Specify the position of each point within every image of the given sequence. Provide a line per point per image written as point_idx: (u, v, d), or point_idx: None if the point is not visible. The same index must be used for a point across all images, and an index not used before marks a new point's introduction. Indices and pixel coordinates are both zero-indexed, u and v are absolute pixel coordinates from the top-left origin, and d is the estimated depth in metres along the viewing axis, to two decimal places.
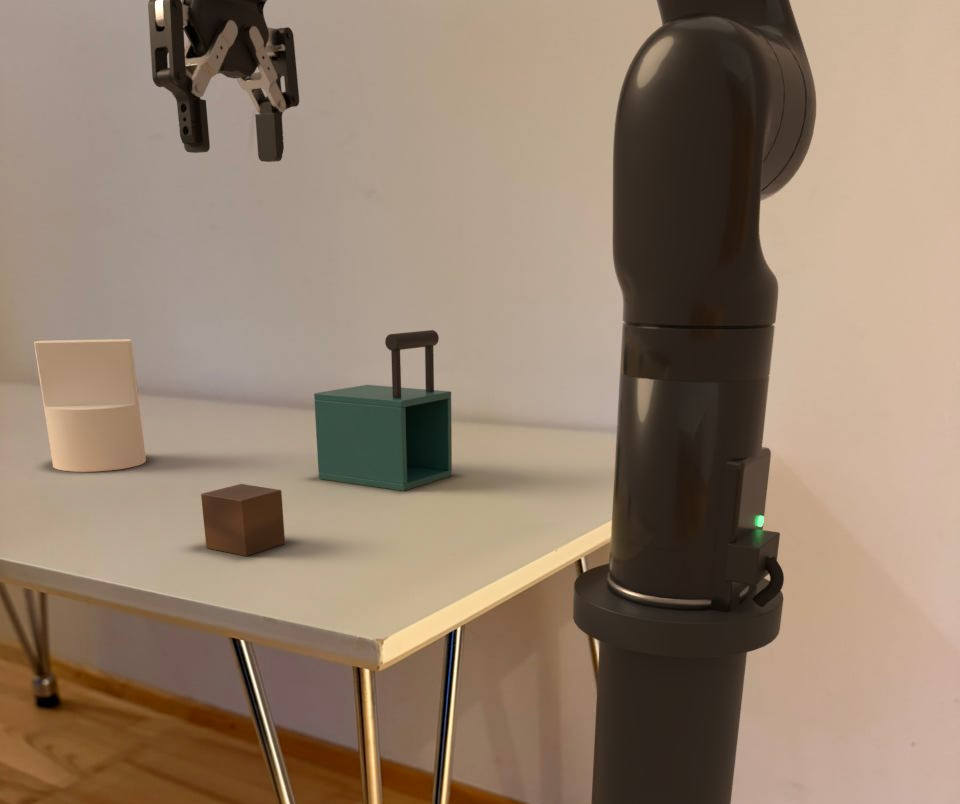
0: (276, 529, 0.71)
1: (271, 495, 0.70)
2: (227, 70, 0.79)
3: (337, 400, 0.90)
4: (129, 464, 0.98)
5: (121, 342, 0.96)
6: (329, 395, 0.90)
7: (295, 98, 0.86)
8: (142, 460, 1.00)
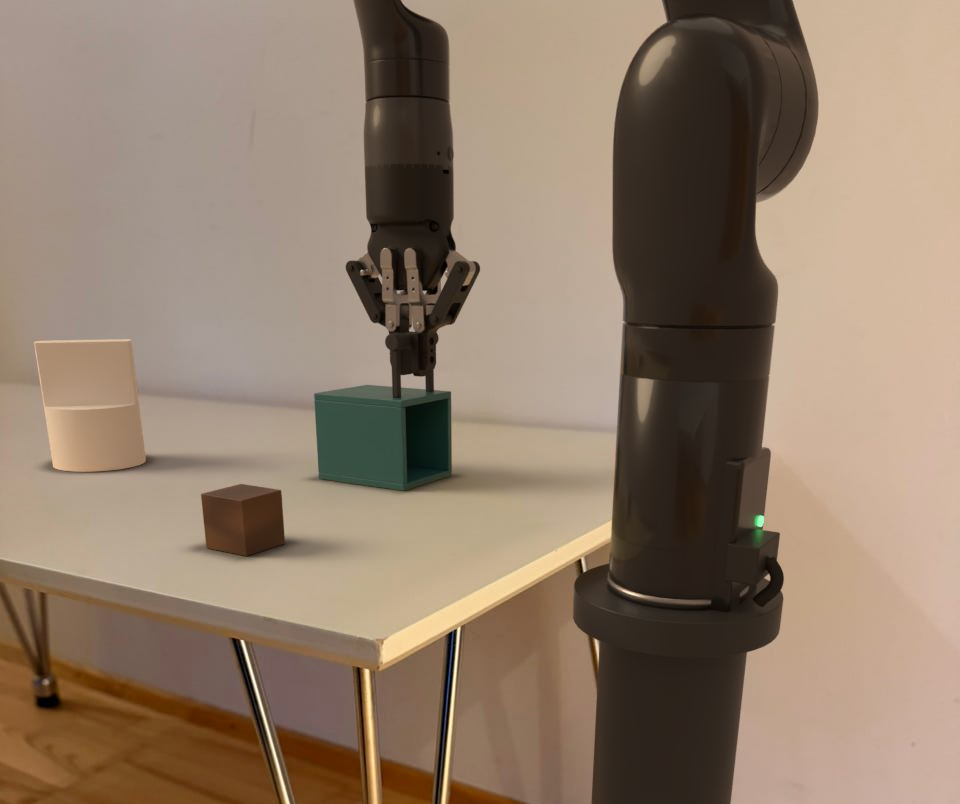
0: (276, 529, 0.71)
1: (271, 495, 0.70)
2: None
3: (337, 400, 0.90)
4: (129, 464, 0.98)
5: (121, 342, 0.96)
6: (329, 395, 0.90)
7: (433, 318, 0.85)
8: (142, 460, 1.00)
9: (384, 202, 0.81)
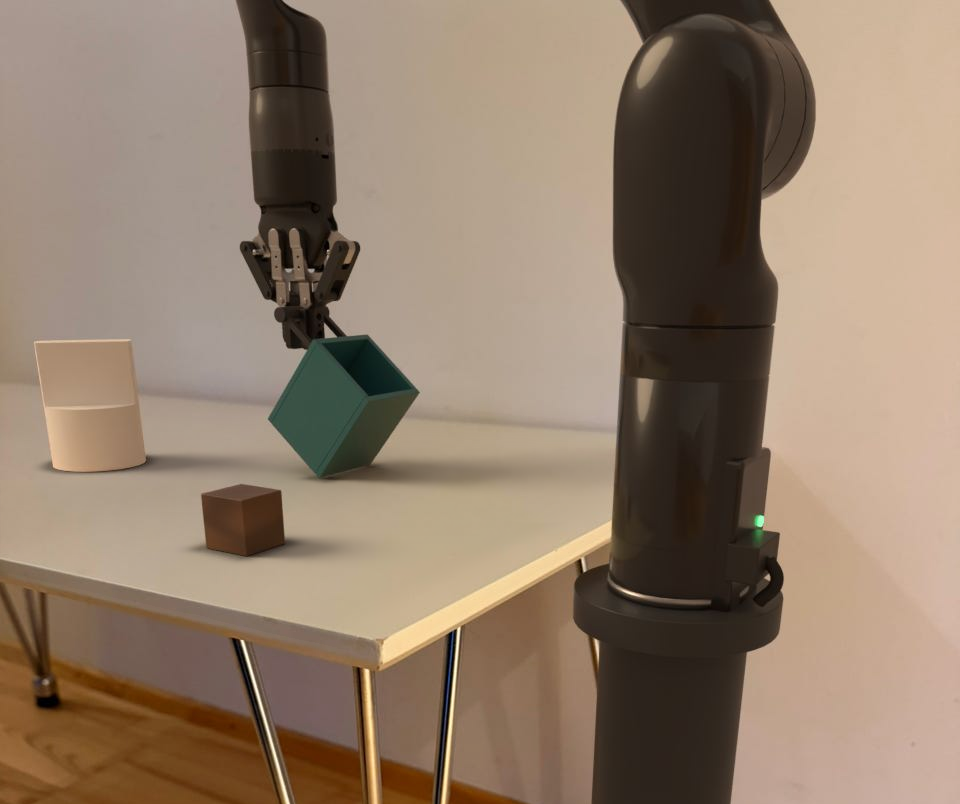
0: (276, 529, 0.71)
1: (271, 495, 0.70)
2: None
3: (282, 401, 0.93)
4: (129, 464, 0.98)
5: (121, 342, 0.96)
6: (275, 405, 0.94)
7: (318, 294, 0.91)
8: (142, 460, 1.00)
9: (267, 185, 0.87)
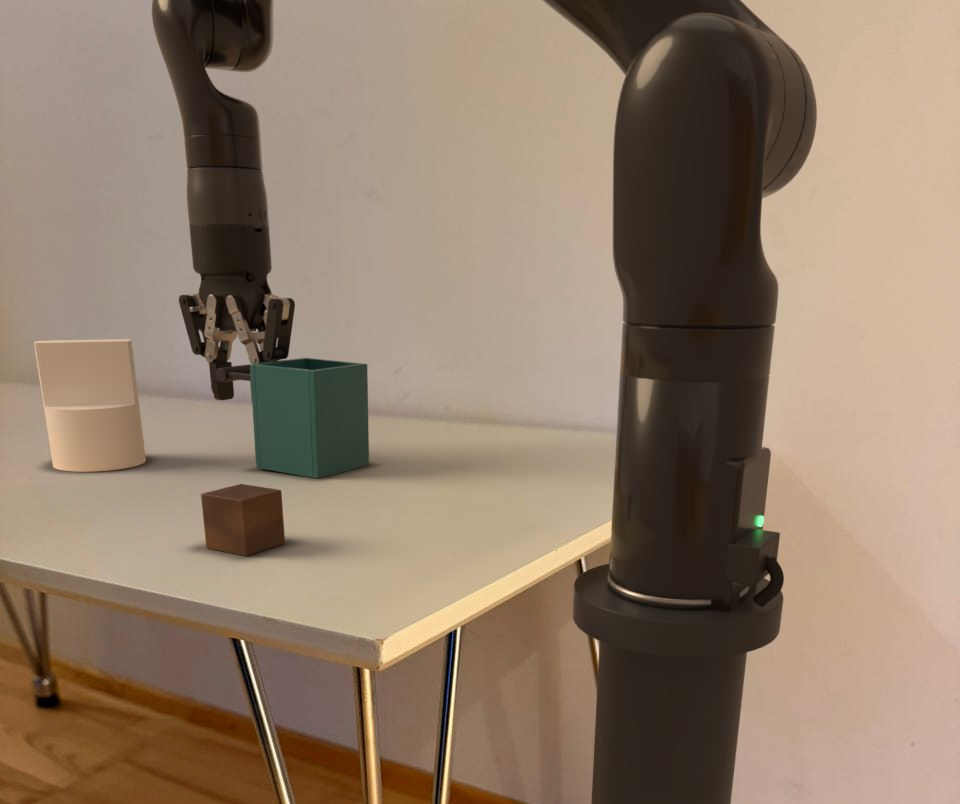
0: (276, 529, 0.71)
1: (271, 495, 0.70)
2: (222, 330, 0.98)
3: (257, 440, 0.96)
4: (129, 464, 0.98)
5: (121, 342, 0.96)
6: (255, 449, 0.97)
7: (265, 354, 0.96)
8: (142, 460, 1.00)
9: (204, 257, 0.93)
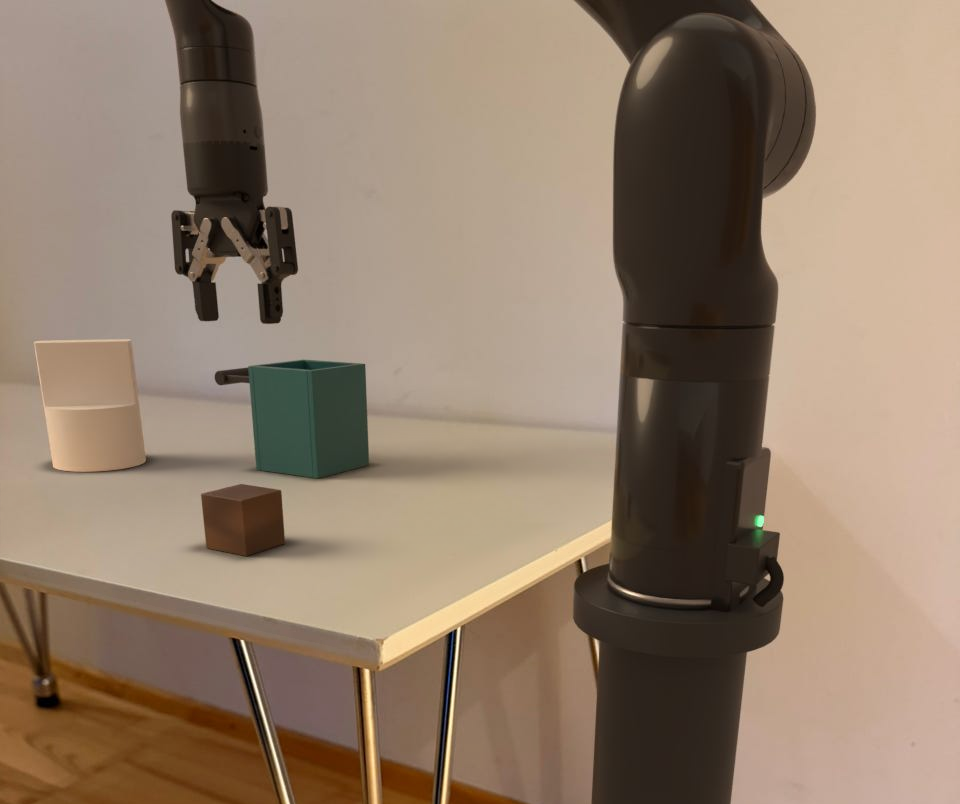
0: (276, 529, 0.71)
1: (271, 495, 0.70)
2: (217, 256, 0.96)
3: (257, 442, 0.96)
4: (129, 464, 0.98)
5: (121, 342, 0.96)
6: (255, 451, 0.97)
7: (274, 268, 0.92)
8: (142, 460, 1.00)
9: (198, 176, 0.91)
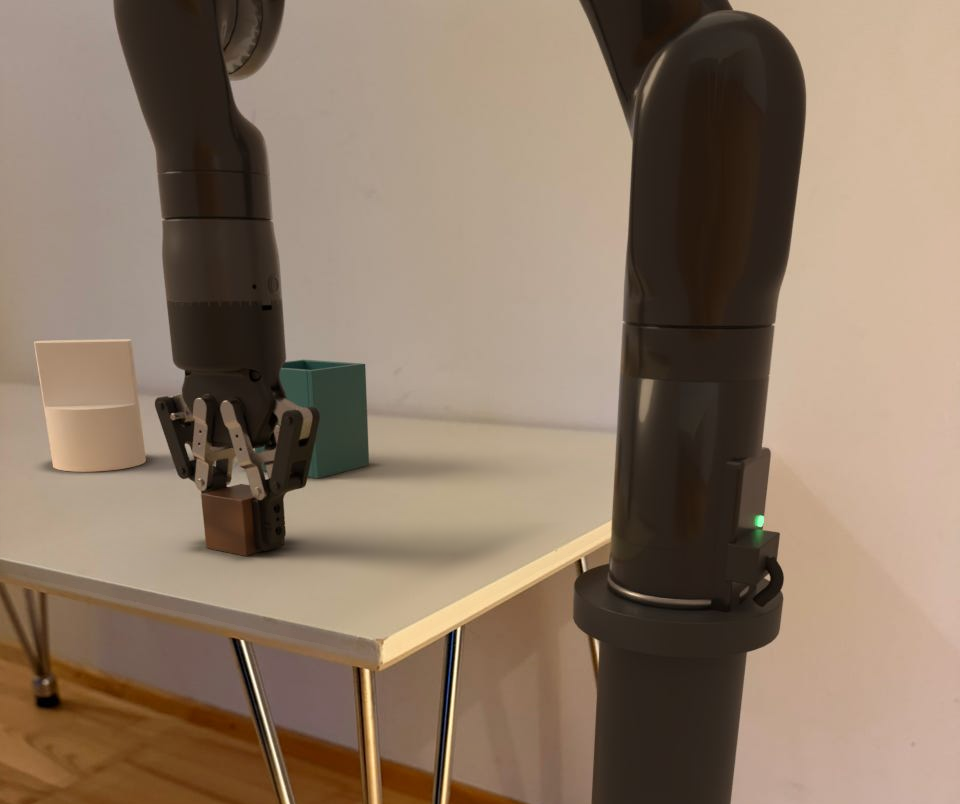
0: None
1: None
2: (215, 446, 0.69)
3: None
4: (129, 464, 0.98)
5: (121, 342, 0.96)
6: (255, 451, 0.97)
7: (274, 485, 0.66)
8: (142, 460, 1.00)
9: (188, 348, 0.64)
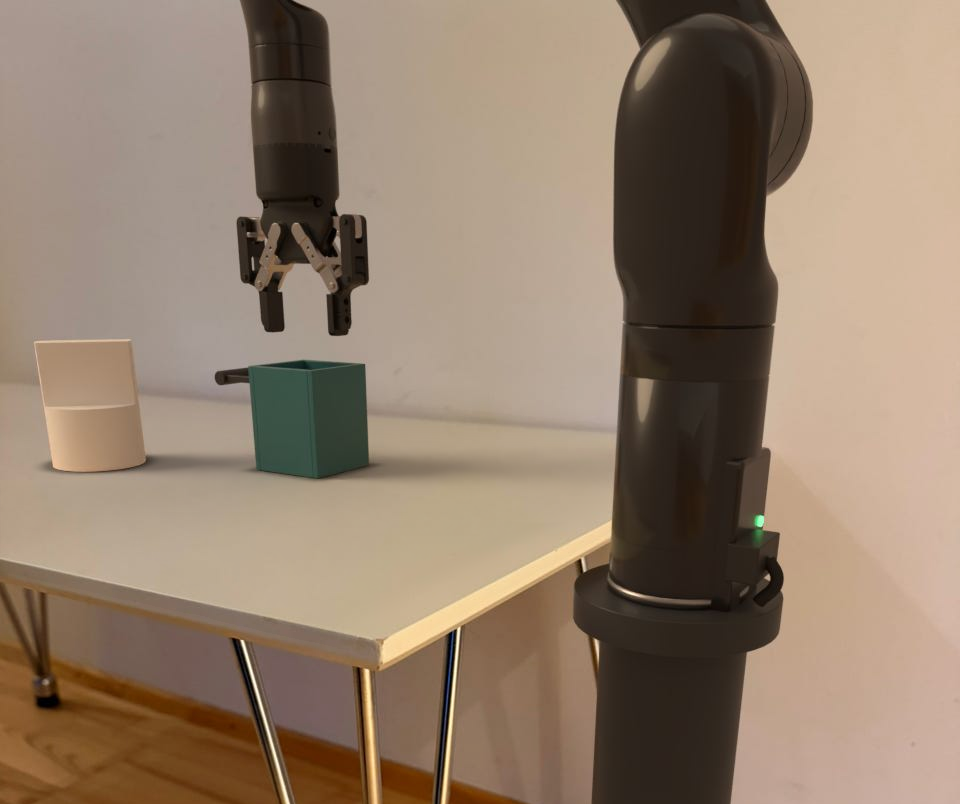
0: None
1: None
2: (285, 262, 0.92)
3: (257, 442, 0.96)
4: (129, 464, 0.98)
5: (121, 342, 0.96)
6: (255, 451, 0.97)
7: (345, 278, 0.88)
8: (142, 460, 1.00)
9: (269, 179, 0.86)
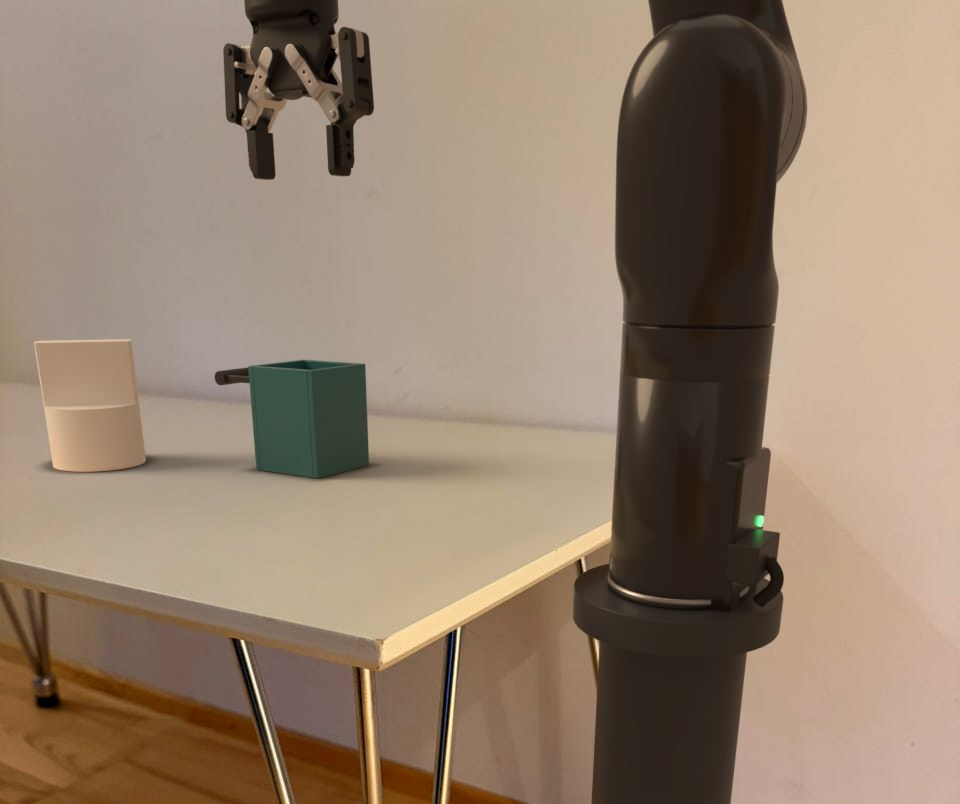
0: None
1: None
2: (278, 95, 0.82)
3: (257, 442, 0.96)
4: (129, 464, 0.98)
5: (121, 342, 0.96)
6: (255, 451, 0.97)
7: (347, 103, 0.78)
8: (142, 460, 1.00)
9: None
